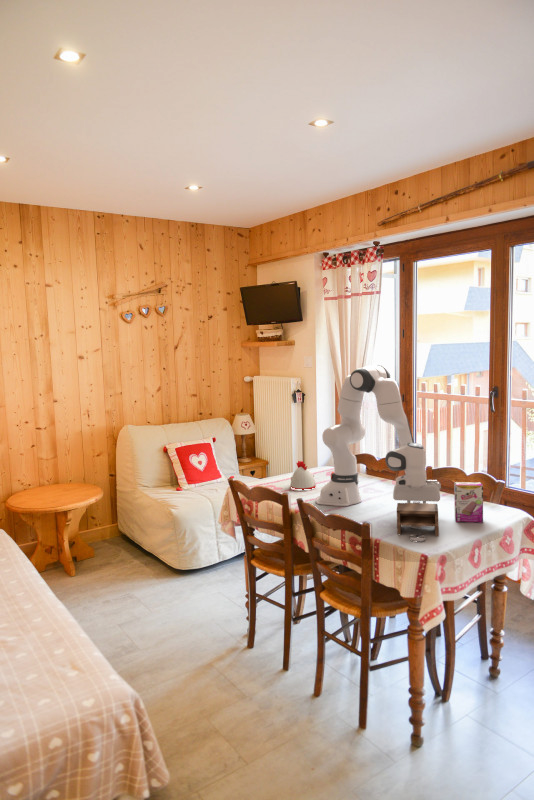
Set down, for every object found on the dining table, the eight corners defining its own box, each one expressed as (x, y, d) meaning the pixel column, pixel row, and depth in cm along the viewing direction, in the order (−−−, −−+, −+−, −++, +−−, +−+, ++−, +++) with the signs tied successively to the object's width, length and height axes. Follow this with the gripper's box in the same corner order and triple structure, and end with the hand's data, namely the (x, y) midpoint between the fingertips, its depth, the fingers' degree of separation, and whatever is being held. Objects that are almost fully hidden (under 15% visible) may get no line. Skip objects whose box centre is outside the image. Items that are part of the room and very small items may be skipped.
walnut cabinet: (397, 534, 220) (396, 510, 219) (398, 526, 230) (397, 502, 229) (438, 536, 216) (438, 511, 215) (437, 527, 225) (437, 503, 224)
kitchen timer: (304, 483, 309) (303, 457, 308) (320, 487, 298) (319, 460, 296) (285, 488, 301) (284, 461, 300) (301, 492, 290) (299, 465, 288)
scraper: (403, 527, 227) (403, 514, 227) (405, 513, 246) (405, 500, 245) (428, 528, 224) (428, 514, 224) (428, 514, 243) (428, 501, 242)
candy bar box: (455, 522, 230) (454, 484, 229) (454, 518, 235) (453, 481, 233) (483, 523, 228) (483, 484, 226) (482, 519, 232) (481, 481, 231)
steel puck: (409, 542, 212) (409, 539, 212) (410, 537, 217) (409, 533, 217) (425, 543, 210) (425, 539, 210) (425, 537, 216) (425, 534, 216)
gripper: (440, 478, 240) (441, 508, 242) (393, 477, 246) (394, 507, 248) (440, 482, 234) (441, 513, 236) (392, 481, 240) (393, 511, 242)
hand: (416, 510), depth 242 cm, fingers closed on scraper, 3 cm apart
